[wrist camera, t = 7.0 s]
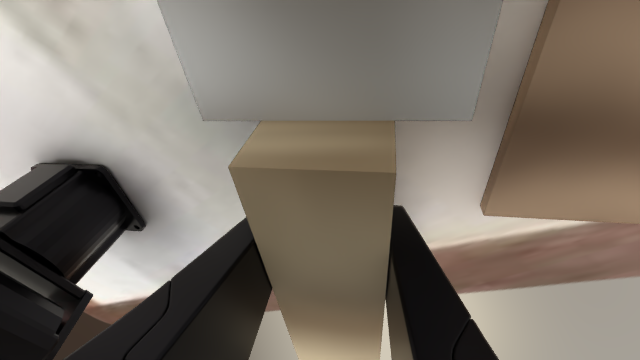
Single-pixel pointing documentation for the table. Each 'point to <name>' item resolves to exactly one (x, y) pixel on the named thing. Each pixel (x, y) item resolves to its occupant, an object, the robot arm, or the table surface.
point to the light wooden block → (328, 135)
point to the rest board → (575, 120)
